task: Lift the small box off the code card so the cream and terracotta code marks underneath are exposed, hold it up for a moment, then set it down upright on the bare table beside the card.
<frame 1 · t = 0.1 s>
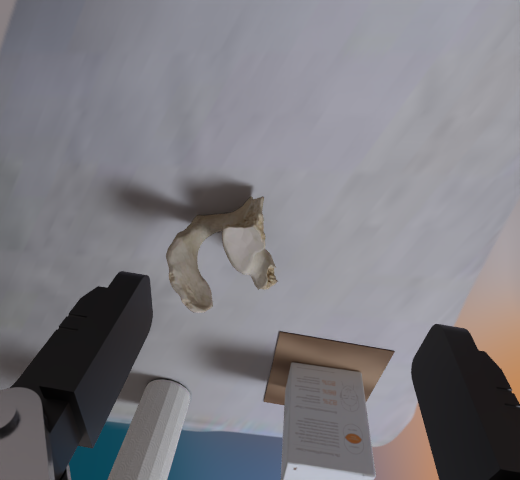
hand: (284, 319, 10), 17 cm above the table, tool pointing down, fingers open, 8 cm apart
small box: (322, 378, 41), resting on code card
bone: (244, 219, 29), on the table
paper towel roll: (166, 390, 47), on the table
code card: (322, 378, 41), on the table
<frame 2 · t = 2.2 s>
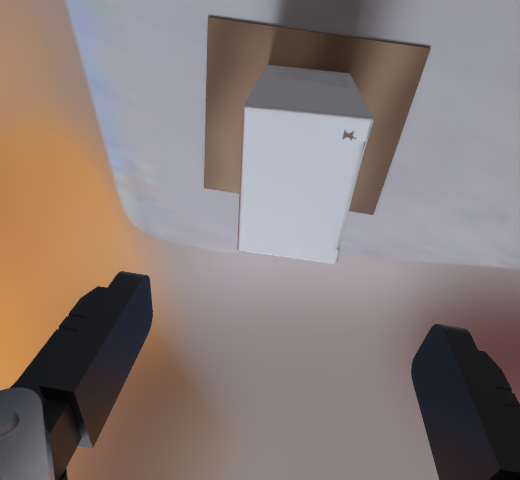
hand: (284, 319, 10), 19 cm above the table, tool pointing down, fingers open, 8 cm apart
small box: (300, 127, 25), resting on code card
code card: (300, 127, 25), on the table
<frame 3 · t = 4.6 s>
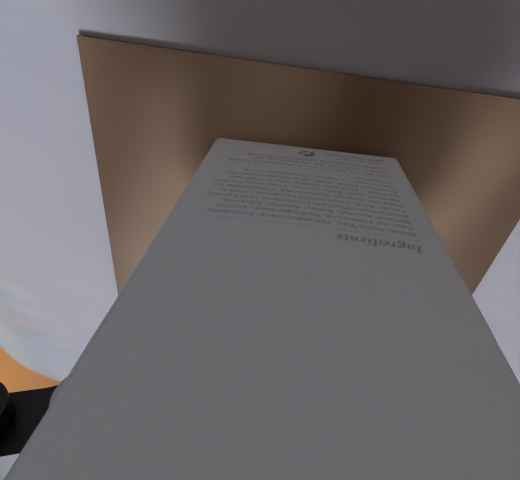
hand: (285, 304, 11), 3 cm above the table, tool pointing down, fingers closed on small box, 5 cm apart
small box: (290, 245, 13), resting on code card, touching gripper
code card: (290, 247, 13), on the table
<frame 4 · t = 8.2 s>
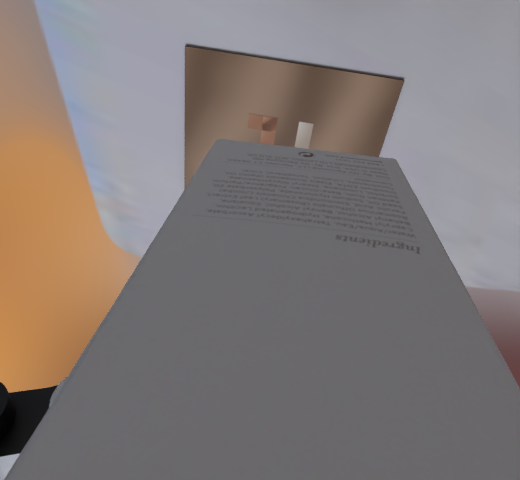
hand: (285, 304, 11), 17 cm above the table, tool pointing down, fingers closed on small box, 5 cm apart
small box: (290, 246, 13), point 14 cm above the table, touching gripper
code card: (279, 153, 26), on the table
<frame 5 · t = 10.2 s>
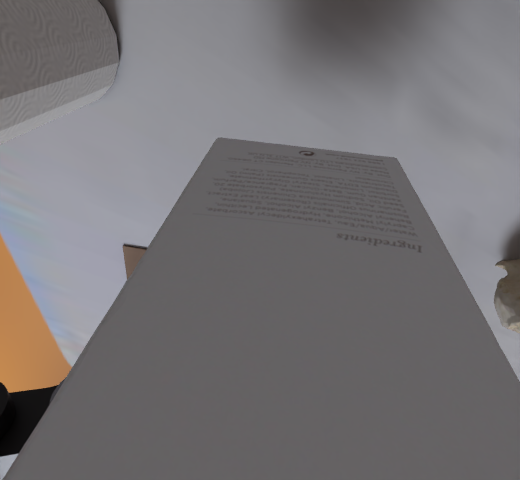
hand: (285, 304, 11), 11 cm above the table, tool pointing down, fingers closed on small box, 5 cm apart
small box: (291, 245, 13), point 8 cm above the table, touching gripper
paper towel roll: (58, 28, 18), on the table
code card: (216, 319, 28), on the table
when the fingers open (4 cm above the table, at t = 11.9 s): small box drops 2 cm, on the table.
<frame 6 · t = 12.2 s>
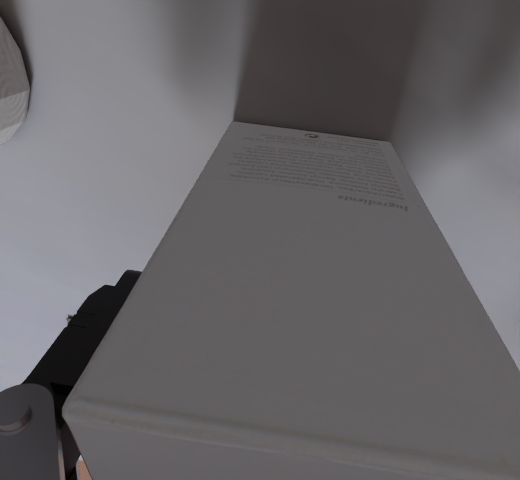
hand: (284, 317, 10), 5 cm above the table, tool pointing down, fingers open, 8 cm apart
small box: (294, 223, 14), on the table
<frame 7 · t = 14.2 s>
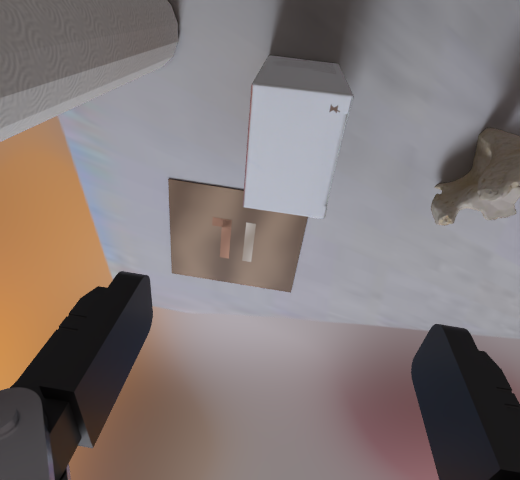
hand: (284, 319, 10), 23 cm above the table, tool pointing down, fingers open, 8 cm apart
small box: (296, 110, 30), on the table
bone: (472, 173, 31), on the table
paper towel roll: (138, 19, 27), on the table
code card: (235, 240, 37), on the table
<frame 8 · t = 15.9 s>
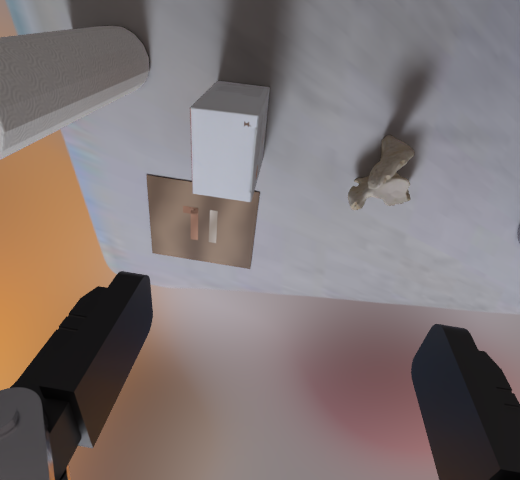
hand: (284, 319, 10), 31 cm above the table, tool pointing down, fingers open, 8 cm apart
small box: (242, 121, 38), on the table
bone: (381, 170, 40), on the table
paper towel roll: (119, 53, 36), on the table
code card: (202, 224, 46), on the table
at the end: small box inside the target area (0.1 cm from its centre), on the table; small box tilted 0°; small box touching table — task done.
